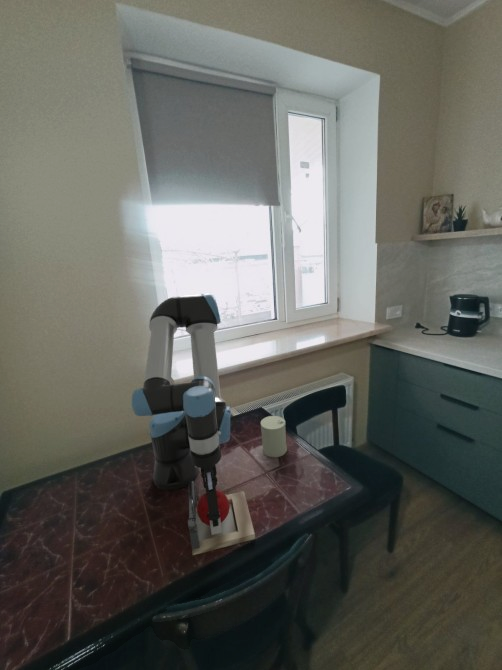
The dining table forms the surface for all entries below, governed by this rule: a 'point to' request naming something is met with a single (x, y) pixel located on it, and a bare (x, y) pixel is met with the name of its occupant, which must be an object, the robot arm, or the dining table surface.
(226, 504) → the tomato
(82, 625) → the dining table surface
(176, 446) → the robot arm
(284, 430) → the can
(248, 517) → the beige flat square frame
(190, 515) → the grey curved bar
